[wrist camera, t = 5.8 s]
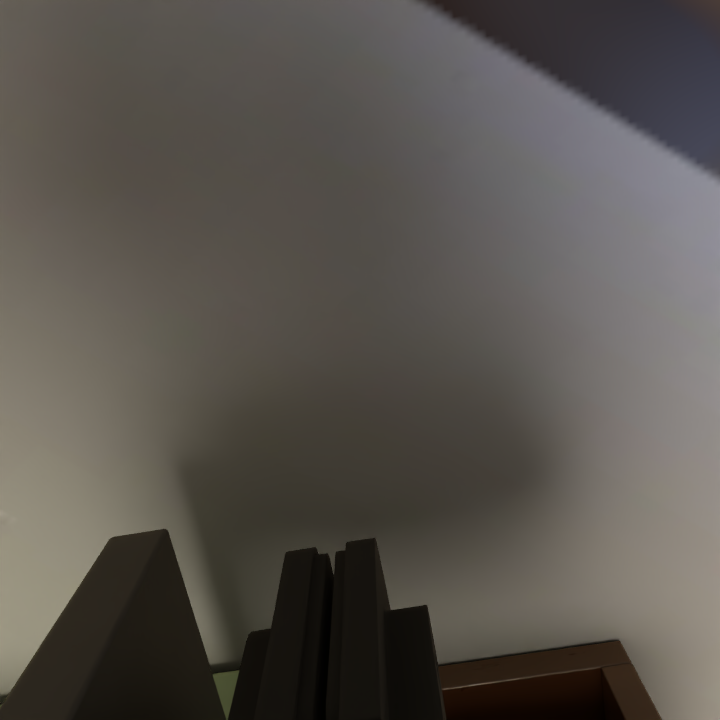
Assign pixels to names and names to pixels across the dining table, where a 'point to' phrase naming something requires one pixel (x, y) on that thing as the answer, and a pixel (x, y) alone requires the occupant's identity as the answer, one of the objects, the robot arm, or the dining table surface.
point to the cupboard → (548, 686)
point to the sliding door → (124, 646)
